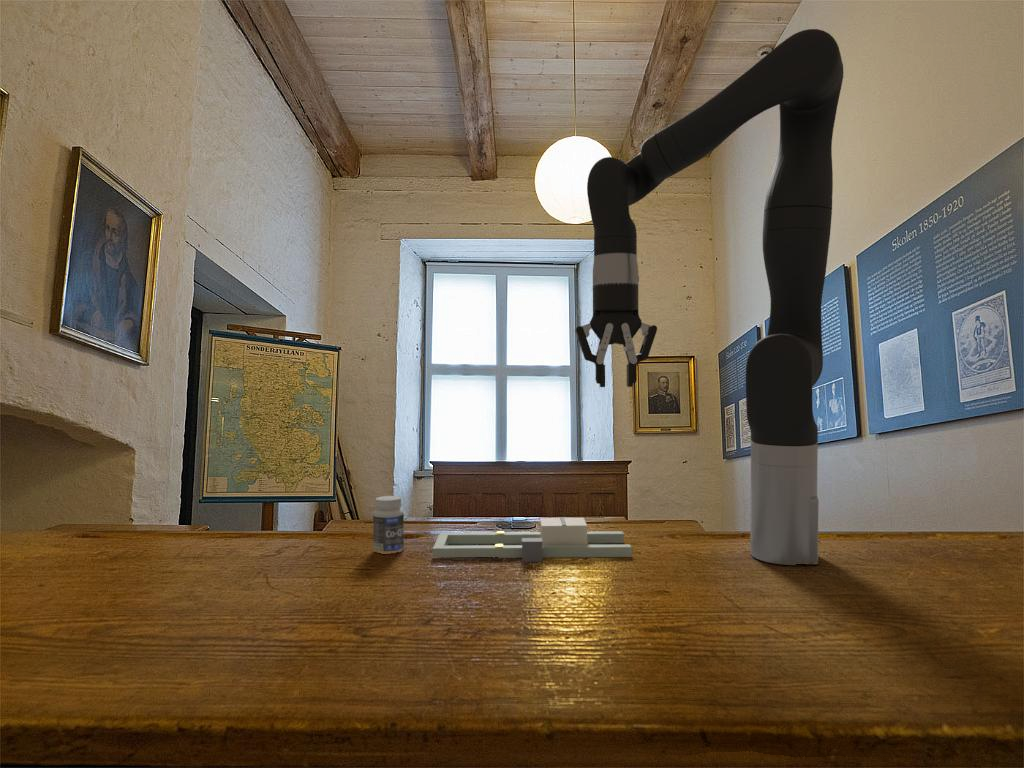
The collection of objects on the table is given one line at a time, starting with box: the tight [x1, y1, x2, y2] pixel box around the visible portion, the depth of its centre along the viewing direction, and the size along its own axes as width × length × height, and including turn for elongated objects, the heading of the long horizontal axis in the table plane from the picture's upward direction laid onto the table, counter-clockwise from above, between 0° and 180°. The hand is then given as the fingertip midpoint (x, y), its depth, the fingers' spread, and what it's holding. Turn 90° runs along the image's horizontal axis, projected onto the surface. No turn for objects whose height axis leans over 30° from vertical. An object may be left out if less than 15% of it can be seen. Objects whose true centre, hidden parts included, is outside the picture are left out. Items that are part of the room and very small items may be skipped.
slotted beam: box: [432, 530, 633, 563], centre depth 106 cm, size 30×11×3 cm, turn 89°
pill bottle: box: [372, 495, 405, 552], centre depth 107 cm, size 5×5×8 cm
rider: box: [539, 516, 588, 545], centre depth 107 cm, size 7×5×5 cm
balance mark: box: [494, 530, 505, 548], centre depth 107 cm, size 1×9×1 cm, turn 179°
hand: (615, 386), depth 113 cm, fingers open, 4 cm apart
